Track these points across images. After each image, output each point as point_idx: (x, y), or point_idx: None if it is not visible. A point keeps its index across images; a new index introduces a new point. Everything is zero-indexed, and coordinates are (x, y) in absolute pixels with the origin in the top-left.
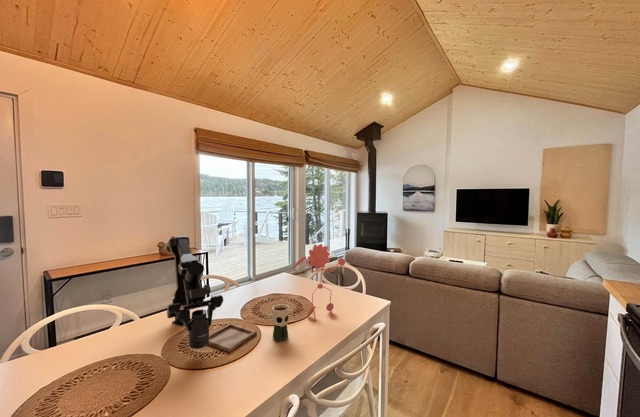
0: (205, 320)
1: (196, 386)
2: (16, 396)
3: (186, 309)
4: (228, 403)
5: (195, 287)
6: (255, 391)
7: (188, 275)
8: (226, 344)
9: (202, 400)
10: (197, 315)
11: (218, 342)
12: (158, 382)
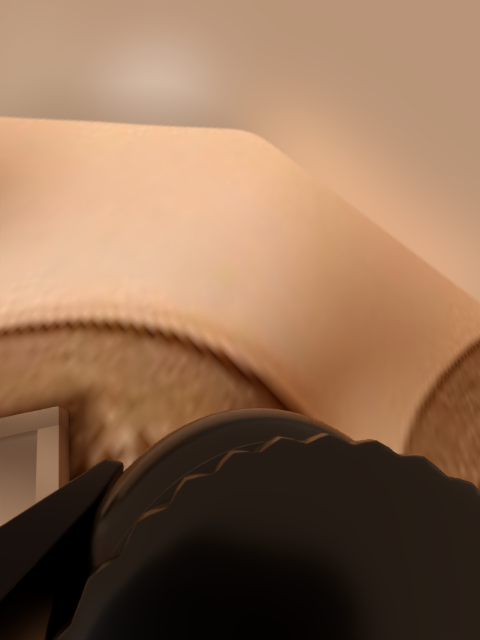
0: (195, 459)
1: (324, 295)
2: None
3: None
4: (275, 173)
5: None
6: (192, 154)
7: None
8: (1, 522)
9: (329, 228)
10: (471, 497)
11: None
12: (454, 442)
